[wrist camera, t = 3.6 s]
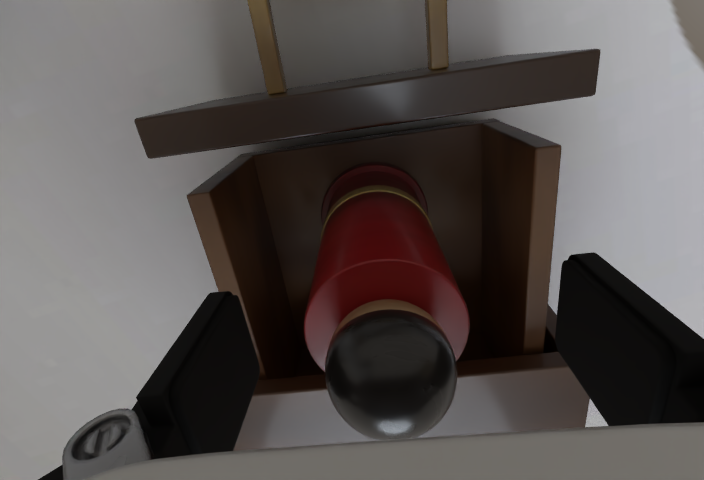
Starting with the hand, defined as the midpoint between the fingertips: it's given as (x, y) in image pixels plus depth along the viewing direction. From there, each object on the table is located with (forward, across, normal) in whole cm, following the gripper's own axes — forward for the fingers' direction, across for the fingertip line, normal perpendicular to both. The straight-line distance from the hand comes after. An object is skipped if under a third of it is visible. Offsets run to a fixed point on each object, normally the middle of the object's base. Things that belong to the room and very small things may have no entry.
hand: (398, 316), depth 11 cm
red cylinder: (+8, 0, 0) cm, 8 cm away
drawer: (+9, 0, -1) cm, 9 cm away
